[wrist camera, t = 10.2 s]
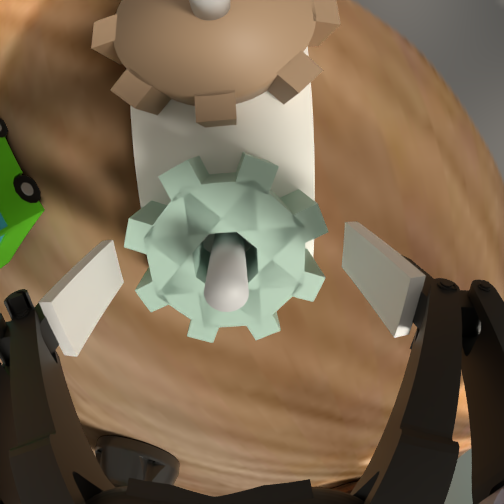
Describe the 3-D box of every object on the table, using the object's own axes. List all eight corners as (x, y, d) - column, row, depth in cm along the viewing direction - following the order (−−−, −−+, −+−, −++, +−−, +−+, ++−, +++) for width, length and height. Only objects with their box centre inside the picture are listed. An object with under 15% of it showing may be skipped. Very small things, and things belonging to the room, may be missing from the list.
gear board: (154, 275, 20) (115, 355, 12) (134, -3, 11) (87, -60, 3) (314, 263, 21) (358, 340, 12) (300, -17, 12) (336, -84, 3)
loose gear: (164, 308, 19) (151, 343, 15) (137, 163, 15) (110, 171, 11) (305, 298, 19) (319, 333, 16) (307, 150, 15) (329, 153, 12)
